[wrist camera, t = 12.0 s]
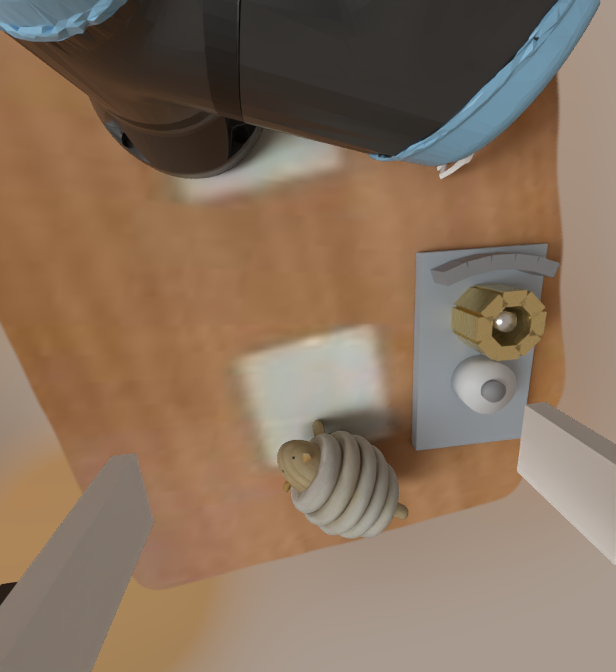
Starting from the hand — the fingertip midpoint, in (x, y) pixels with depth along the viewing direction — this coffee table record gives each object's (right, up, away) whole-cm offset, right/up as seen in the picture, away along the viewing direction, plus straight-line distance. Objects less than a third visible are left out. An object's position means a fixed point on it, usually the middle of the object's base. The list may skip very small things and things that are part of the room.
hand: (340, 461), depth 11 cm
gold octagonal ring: (+18, +7, +26) cm, 33 cm away
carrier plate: (+18, +2, +29) cm, 34 cm away
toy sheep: (+2, -10, +31) cm, 33 cm away
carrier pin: (+18, +7, +26) cm, 33 cm away
